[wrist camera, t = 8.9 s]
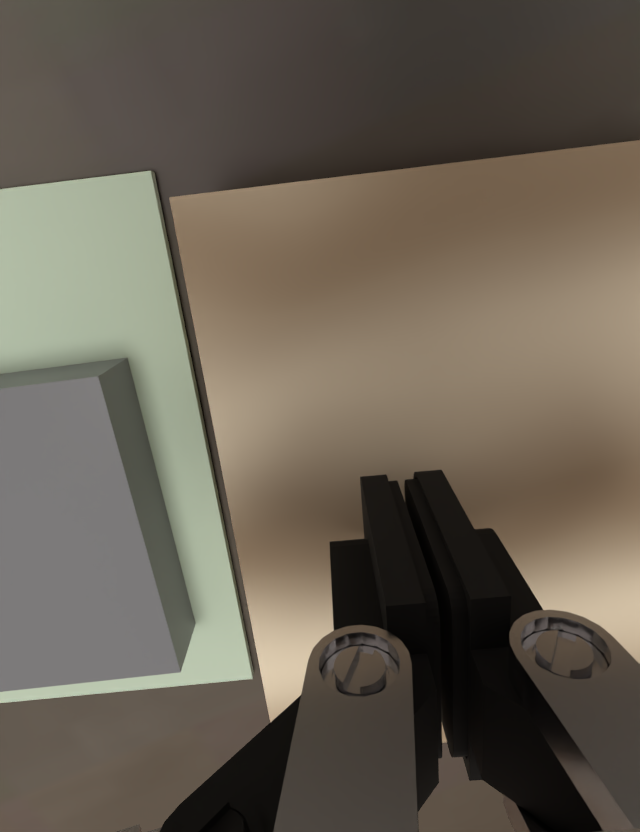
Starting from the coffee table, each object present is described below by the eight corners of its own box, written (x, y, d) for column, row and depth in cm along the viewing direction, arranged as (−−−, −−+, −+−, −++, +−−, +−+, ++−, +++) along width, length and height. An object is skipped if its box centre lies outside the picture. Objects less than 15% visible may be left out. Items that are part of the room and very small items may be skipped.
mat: (-273, 224, 13) (-286, 224, 13) (154, 172, 13) (150, 170, 12) (-53, 701, 18) (-58, 708, 18) (253, 671, 18) (252, 678, 18)
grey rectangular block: (98, 376, 12) (127, 357, 14) (-148, 407, 12) (-86, 384, 14) (180, 672, 15) (195, 623, 17) (-19, 694, 15) (18, 643, 17)
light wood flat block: (211, 209, 13) (169, 196, 9) (939, 121, 12) (1210, 70, 9) (285, 645, 18) (277, 757, 14) (820, 593, 17) (963, 695, 13)
